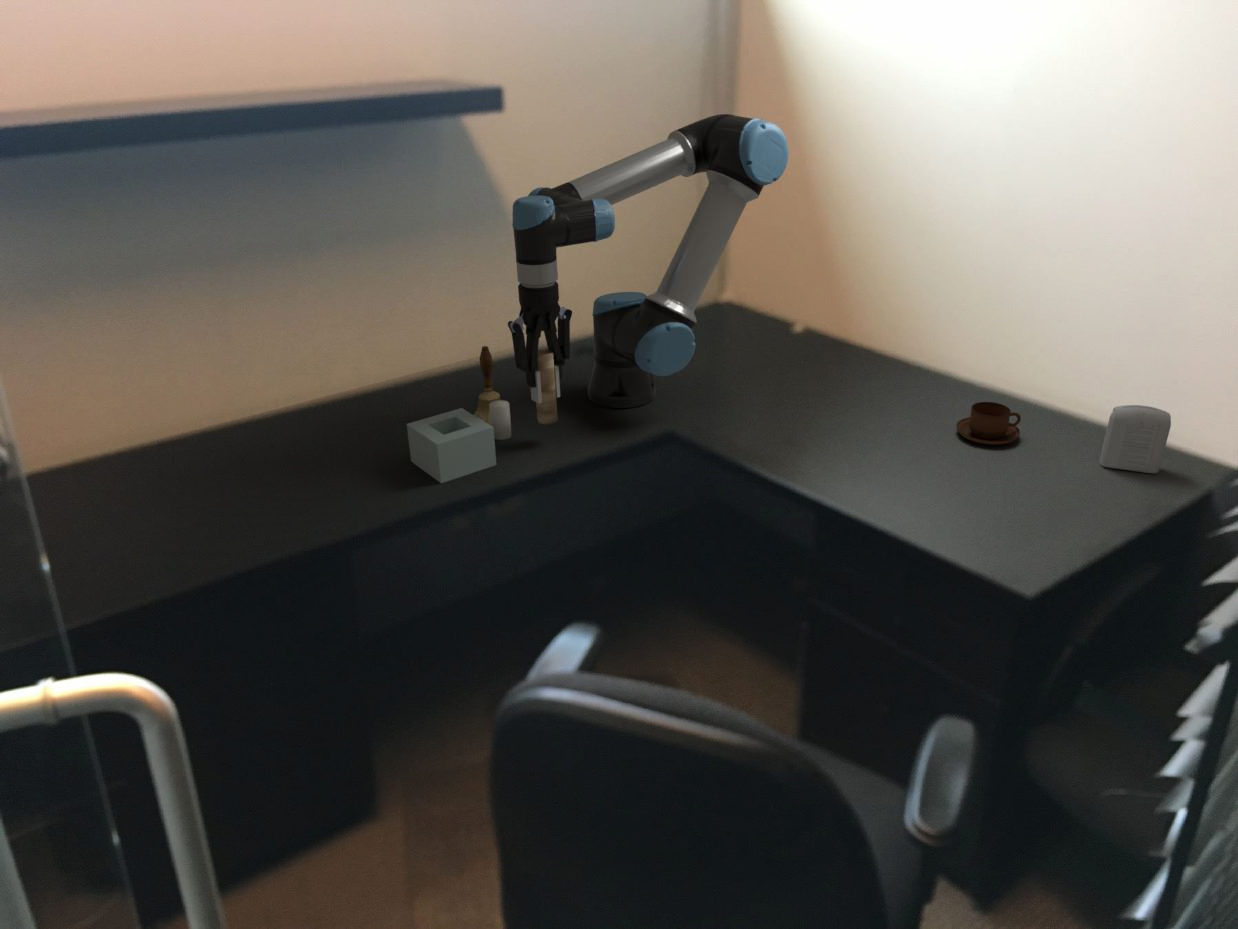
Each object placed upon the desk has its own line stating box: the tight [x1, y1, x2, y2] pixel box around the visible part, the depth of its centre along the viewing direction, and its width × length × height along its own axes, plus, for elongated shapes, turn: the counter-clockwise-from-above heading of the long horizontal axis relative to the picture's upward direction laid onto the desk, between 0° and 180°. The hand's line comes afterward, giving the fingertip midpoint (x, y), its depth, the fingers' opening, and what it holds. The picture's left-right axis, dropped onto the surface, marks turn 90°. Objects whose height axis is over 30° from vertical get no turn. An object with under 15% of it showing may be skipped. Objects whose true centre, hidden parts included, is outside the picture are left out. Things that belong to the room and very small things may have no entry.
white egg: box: [489, 399, 512, 441], centre depth 203 cm, size 4×4×7 cm
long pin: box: [535, 349, 558, 425], centre depth 195 cm, size 4×4×14 cm
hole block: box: [406, 407, 497, 484], centre depth 191 cm, size 12×12×8 cm
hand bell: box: [473, 345, 512, 425], centre depth 209 cm, size 8×8×16 cm
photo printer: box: [1098, 404, 1172, 474], centre depth 184 cm, size 10×4×12 cm, turn 70°
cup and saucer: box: [955, 401, 1022, 446], centre depth 199 cm, size 12×12×6 cm
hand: (545, 397), depth 196 cm, fingers closed on long pin, 4 cm apart
